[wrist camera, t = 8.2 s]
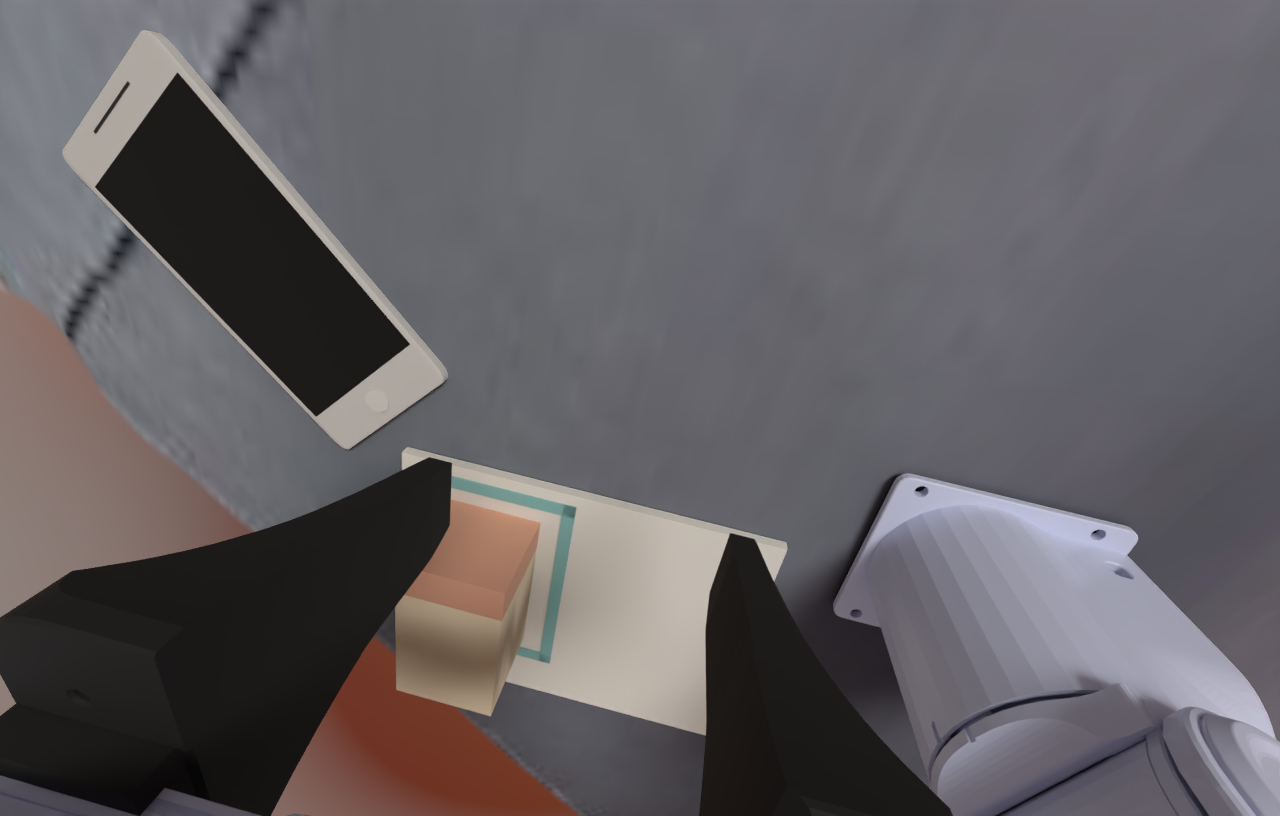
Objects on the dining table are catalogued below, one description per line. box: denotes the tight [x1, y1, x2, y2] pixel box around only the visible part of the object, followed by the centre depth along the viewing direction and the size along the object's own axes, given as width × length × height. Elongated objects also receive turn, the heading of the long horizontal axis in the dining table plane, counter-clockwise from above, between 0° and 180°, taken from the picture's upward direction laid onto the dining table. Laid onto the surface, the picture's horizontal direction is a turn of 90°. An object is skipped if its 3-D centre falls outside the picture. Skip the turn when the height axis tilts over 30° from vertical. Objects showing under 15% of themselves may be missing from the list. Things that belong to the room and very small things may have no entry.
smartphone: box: [62, 30, 448, 449], centre depth 22 cm, size 7×16×1 cm, turn 35°
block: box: [395, 499, 540, 716], centre depth 25 cm, size 8×5×4 cm, turn 169°
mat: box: [402, 447, 787, 736], centre depth 28 cm, size 18×14×1 cm
